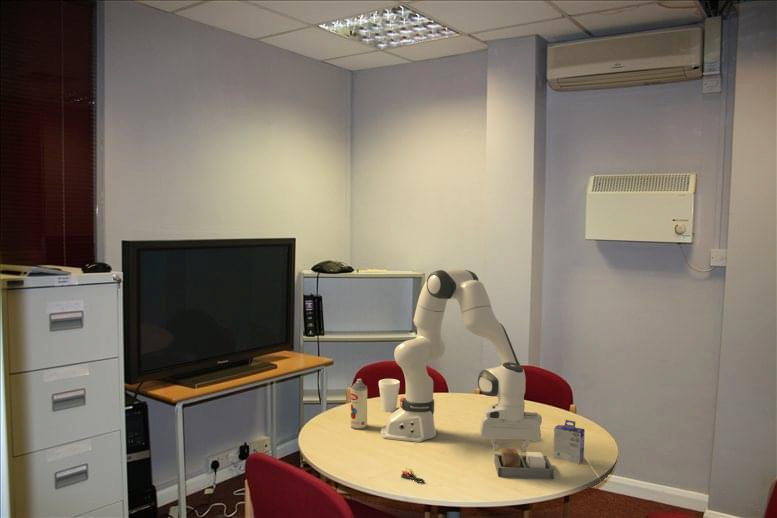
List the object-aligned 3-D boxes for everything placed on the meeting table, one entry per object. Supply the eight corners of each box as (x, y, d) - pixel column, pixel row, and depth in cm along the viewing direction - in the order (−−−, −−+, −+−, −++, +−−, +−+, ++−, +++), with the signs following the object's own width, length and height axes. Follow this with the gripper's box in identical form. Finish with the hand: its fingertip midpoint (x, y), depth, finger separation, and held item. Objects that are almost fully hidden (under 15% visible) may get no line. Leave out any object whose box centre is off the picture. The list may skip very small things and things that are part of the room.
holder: (498, 479, 201) (498, 467, 200) (494, 465, 213) (494, 454, 212) (553, 481, 200) (553, 470, 199) (546, 467, 211) (546, 455, 211)
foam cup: (380, 406, 279) (380, 378, 279) (400, 407, 278) (400, 379, 277) (377, 412, 270) (377, 383, 269) (397, 413, 269) (398, 384, 268)
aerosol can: (347, 425, 252) (348, 378, 251) (362, 423, 256) (362, 376, 254) (355, 430, 246) (355, 382, 245) (370, 427, 250) (370, 380, 248)
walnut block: (504, 474, 202) (504, 457, 202) (501, 464, 210) (501, 448, 210) (519, 475, 202) (519, 457, 202) (515, 465, 210) (516, 448, 210)
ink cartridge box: (584, 461, 217) (585, 422, 216) (580, 467, 212) (581, 426, 211) (556, 456, 222) (558, 417, 221) (552, 460, 217) (553, 421, 216)
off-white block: (529, 475, 202) (530, 460, 202) (526, 465, 210) (526, 451, 210) (545, 476, 202) (545, 461, 201) (540, 466, 210) (541, 452, 209)
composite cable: (426, 483, 198) (426, 476, 198) (414, 487, 195) (414, 479, 195) (409, 473, 206) (409, 466, 206) (397, 476, 203) (397, 469, 203)
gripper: (540, 409, 208) (538, 449, 209) (480, 407, 209) (479, 446, 210) (543, 415, 201) (542, 456, 202) (481, 413, 203) (480, 453, 204)
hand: (509, 451), depth 206 cm, fingers open, 8 cm apart
